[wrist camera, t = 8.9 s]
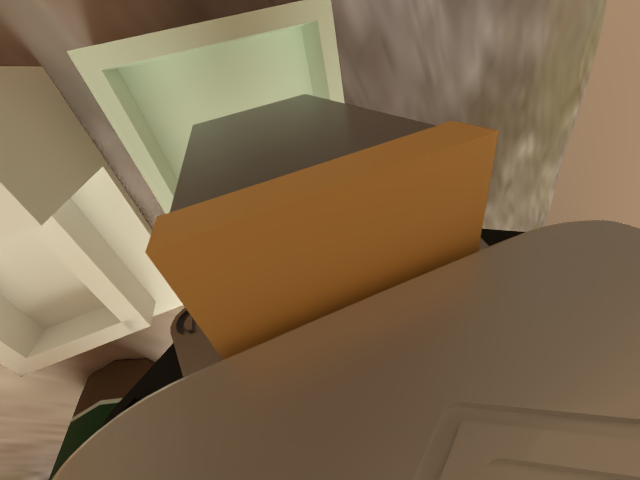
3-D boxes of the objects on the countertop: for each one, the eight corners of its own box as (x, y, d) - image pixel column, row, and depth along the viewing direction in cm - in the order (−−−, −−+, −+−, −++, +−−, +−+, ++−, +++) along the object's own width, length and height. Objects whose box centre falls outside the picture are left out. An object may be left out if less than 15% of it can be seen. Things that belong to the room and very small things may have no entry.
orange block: (189, 123, 11) (145, 252, 3) (306, 90, 12) (498, 131, 4) (260, 281, 17) (310, 479, 9) (339, 251, 17) (451, 405, 9)
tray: (95, 54, 17) (66, 51, 13) (306, 8, 19) (330, -6, 16) (207, 253, 26) (207, 282, 23) (340, 205, 29) (360, 224, 25)
